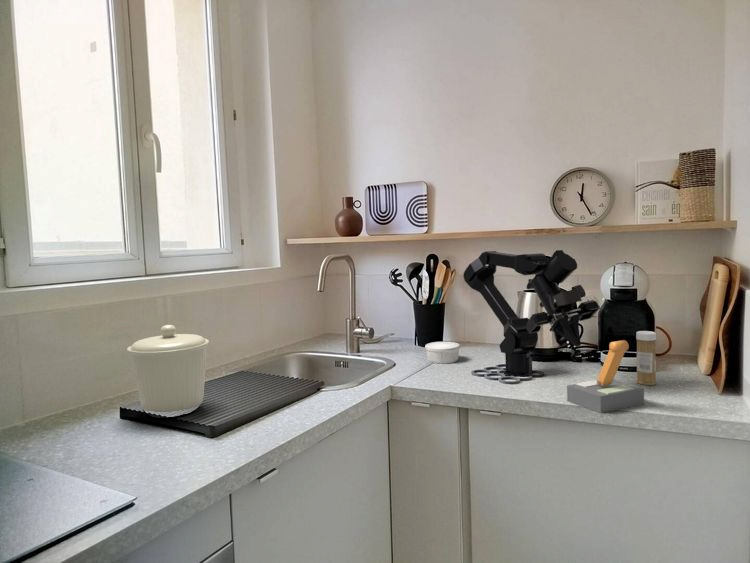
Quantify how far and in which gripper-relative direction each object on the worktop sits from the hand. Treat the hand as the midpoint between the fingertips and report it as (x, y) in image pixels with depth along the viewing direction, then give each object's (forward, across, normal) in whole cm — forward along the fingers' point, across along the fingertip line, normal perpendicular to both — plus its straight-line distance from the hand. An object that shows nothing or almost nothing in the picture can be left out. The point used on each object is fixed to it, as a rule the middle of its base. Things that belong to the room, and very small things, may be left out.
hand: (578, 345), depth 128 cm
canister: (-15, -98, +15) cm, 100 cm away
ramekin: (-20, -19, +42) cm, 50 cm away
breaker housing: (+14, -2, 0) cm, 14 cm away
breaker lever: (+11, -1, -2) cm, 11 cm away
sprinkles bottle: (+11, +18, +9) cm, 23 cm away
